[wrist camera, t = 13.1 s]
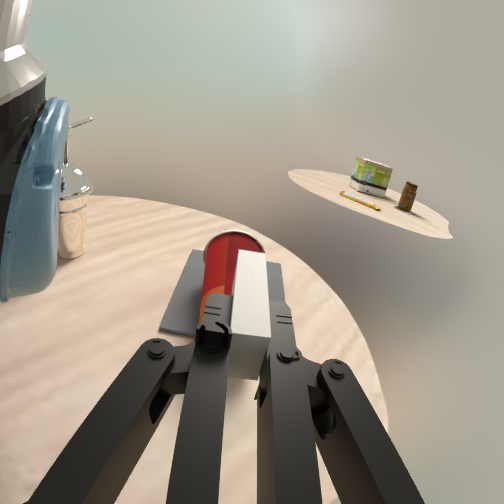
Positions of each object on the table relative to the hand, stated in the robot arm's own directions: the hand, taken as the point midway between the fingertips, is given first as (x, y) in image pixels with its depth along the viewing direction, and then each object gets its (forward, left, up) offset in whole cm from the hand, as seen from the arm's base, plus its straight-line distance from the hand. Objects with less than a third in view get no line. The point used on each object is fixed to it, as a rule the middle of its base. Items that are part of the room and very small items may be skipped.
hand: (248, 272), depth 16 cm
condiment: (+48, +98, -13) cm, 110 cm away
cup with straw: (-29, +14, -13) cm, 35 cm away
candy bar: (+26, +87, -14) cm, 92 cm away
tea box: (+34, +114, -13) cm, 120 cm away
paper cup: (-1, +4, -10) cm, 11 cm away
